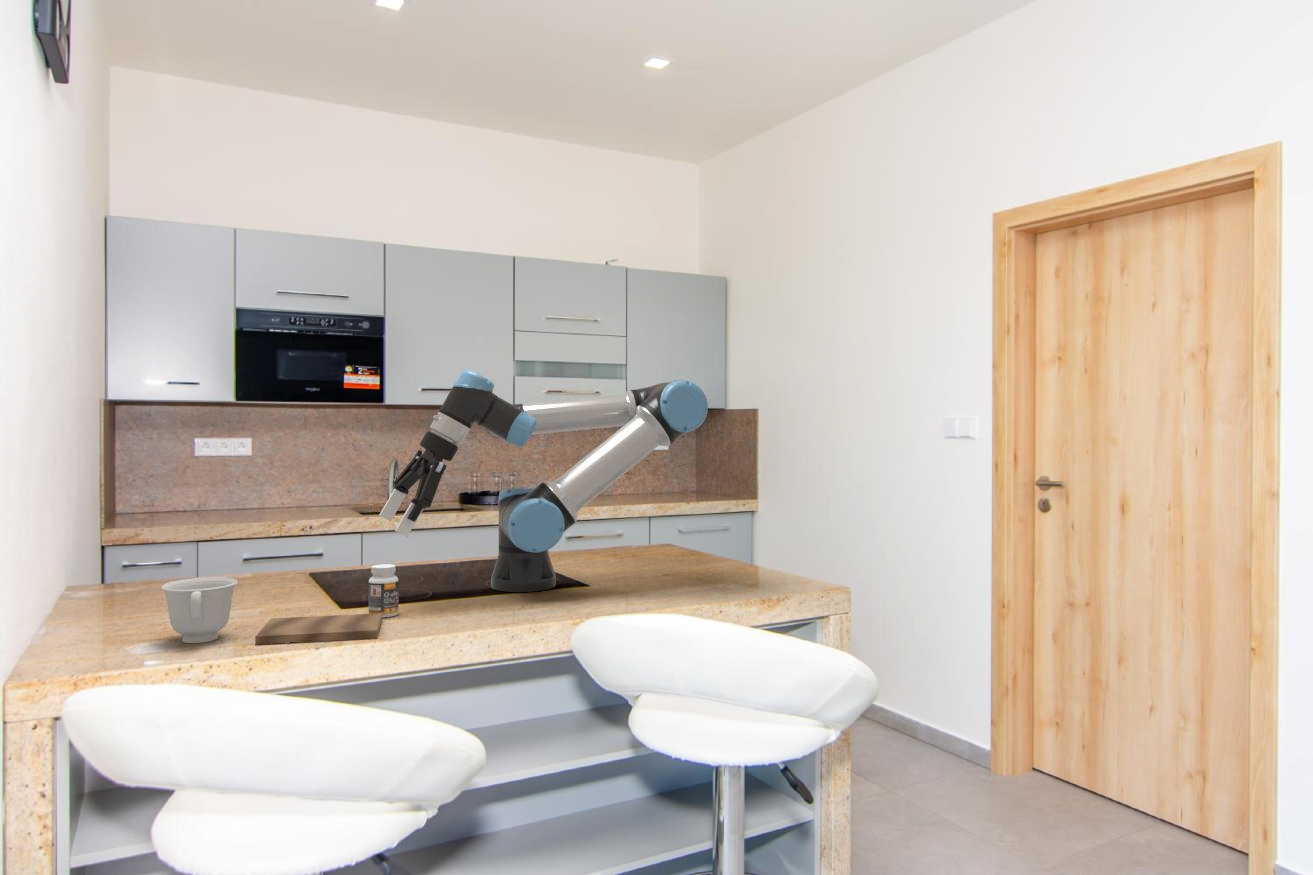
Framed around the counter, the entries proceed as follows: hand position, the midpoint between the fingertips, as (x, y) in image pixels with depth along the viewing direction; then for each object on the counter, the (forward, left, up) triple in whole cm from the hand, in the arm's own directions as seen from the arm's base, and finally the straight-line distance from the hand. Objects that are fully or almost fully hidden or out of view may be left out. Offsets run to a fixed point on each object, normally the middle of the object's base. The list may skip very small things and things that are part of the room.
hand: (392, 525), depth 181 cm
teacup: (+31, +23, -17) cm, 42 cm away
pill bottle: (+1, +9, -17) cm, 19 cm away
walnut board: (+11, +21, -17) cm, 29 cm away
